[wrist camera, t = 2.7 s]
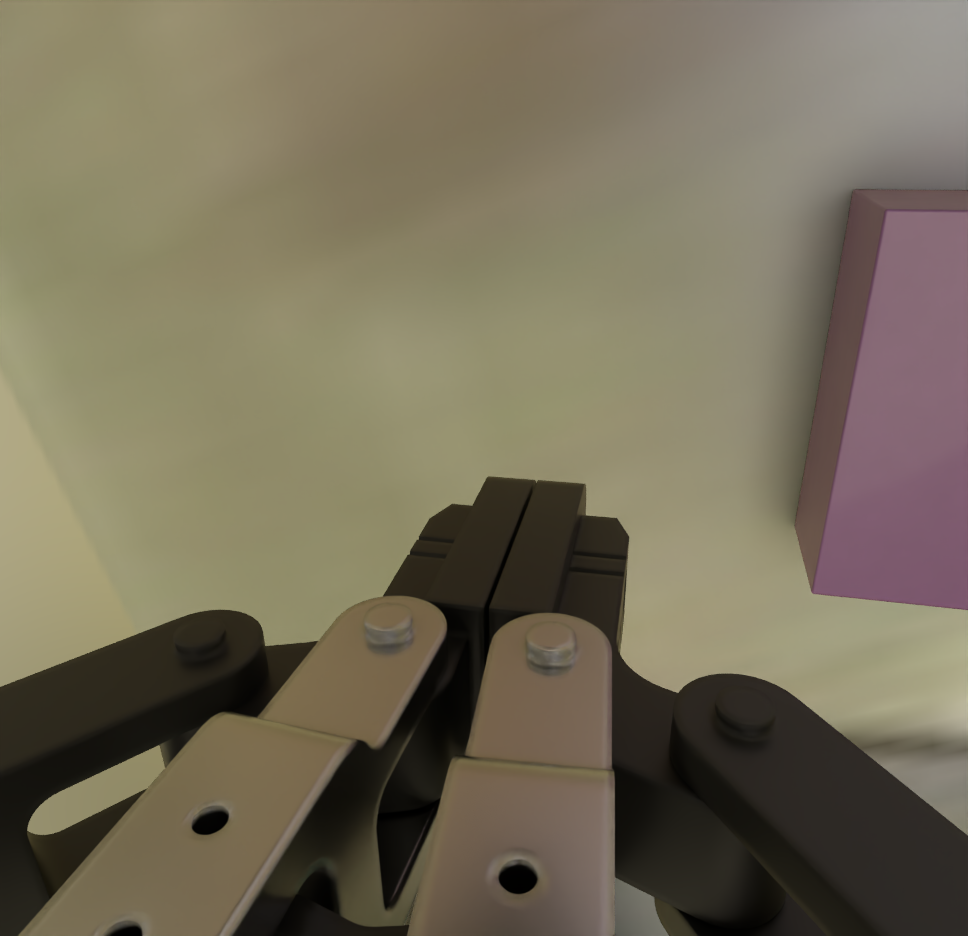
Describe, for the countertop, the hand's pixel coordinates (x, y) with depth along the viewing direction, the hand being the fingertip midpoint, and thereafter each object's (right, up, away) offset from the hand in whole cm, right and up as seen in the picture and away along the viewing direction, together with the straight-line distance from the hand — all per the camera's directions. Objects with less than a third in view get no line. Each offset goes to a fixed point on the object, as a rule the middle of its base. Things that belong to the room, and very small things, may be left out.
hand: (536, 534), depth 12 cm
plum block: (+9, +3, +5) cm, 11 cm away
